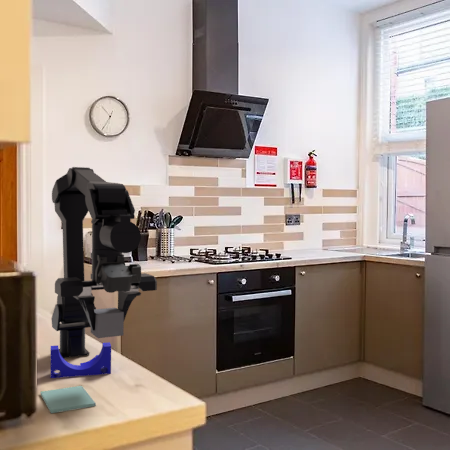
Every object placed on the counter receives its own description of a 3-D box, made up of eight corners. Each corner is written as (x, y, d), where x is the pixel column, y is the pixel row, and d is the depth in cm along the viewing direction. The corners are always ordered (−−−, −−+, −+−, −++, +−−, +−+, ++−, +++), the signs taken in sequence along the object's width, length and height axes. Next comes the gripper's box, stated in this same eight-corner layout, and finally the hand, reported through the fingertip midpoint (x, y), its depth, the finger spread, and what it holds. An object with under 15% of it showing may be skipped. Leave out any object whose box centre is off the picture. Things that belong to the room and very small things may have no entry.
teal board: (40, 394, 102) (40, 391, 102) (81, 388, 106) (81, 385, 106) (51, 413, 93) (51, 410, 93) (95, 405, 97) (95, 403, 97)
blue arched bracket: (108, 368, 119) (109, 340, 119) (110, 374, 115) (111, 346, 114) (50, 372, 115) (50, 343, 115) (50, 379, 111) (50, 349, 111)
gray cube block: (90, 332, 108) (90, 309, 108) (115, 329, 110) (115, 307, 110) (97, 338, 104) (98, 314, 103) (123, 335, 106) (123, 312, 106)
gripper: (68, 254, 95) (68, 343, 95) (168, 250, 104) (167, 332, 105) (54, 248, 104) (54, 330, 105) (146, 245, 114) (146, 320, 114)
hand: (106, 328), depth 107 cm, fingers closed on gray cube block, 5 cm apart
